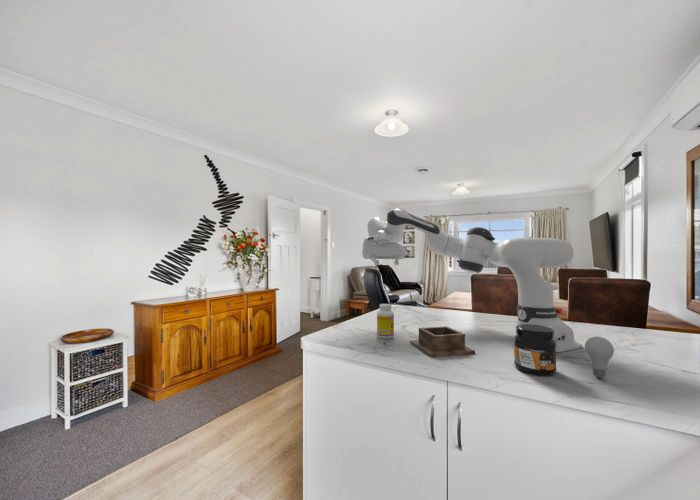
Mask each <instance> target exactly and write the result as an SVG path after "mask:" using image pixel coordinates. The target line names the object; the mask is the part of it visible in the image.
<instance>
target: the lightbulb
mask: <svg viewBox="0 0 700 500" xmlns="http://www.w3.org/2000/svg"><path fill="white" fill-rule="evenodd" d="M584 349H585V351H586V354H587V356H588V357H589V359H590V363H591V367H592V373H593V375H594V376H595V377H596V378H597V379H603V378H605V377H606V370H607V367H608V364H609V361H610V360H611V359H612V357H613V356H614V352H615V349H614V345H613V344H612V342H611V341H609V340H608V339H607V338H604V337H601V336H592V337H589V338H588V339H587V340H586V341H585V343H584Z"/></svg>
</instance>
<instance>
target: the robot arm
mask: <svg viewBox="0 0 700 500" xmlns="http://www.w3.org/2000/svg"><path fill="white" fill-rule="evenodd" d="M406 226H409V227H411V228H414V229H416V230H418V231H420V232H422V233H423V234H424V235H425V239H426V245H427V248H428V251H430V252H431V253H433V254H434V255H437V256H438V255H439V256H443V257H446V258H454V259H456V262H457V263H458V265H459V266H458V267H460V269H461V270H463V271H464V272H466V273H467V274H479V273H481V272H482V271H483V269H484V267H485V266H484V265H485V262H486V259H487V261H488V262H489V263H491V264H492V265H494V266H496V267H502V268H503V267H505V268H508V269H509V270H510V272H511V273H512V274H513V277H514V278H515V282H516V285H517V296H518V297H517V299H518V301H517V302H518V303H517V305H516V314H517V321H516V326H517V325H521V324H531V325H540V326H545V327H549V328H551V329H553V330H554V338H553V339H554V340H555V341H556V343H557V346H556V353H562V352H567V351H571V350H575V349H580V348H581V349H582V348H583V344H582V343H581V342H579V341H577V340H575V336H574V335H575V334H574V331H573V329H572V328H571V327H570V326H569V325H567V323H565V322H564V321H562V319H560V318H559V315H562V314H563V313H564V308H561V307H555V306H554V286H553V284H552V283H551V282H550V281H549V280H547V279H545V278H543V277H542V275H541V272H540V269H555V268H560V267H566V266H568V265H569V264H570V263H571V262H572V261H573V258H574V253H575V252H574V248H573V245H572V244H571V243H570V242H569V241H567V240H565V239H560V238H555V237H517V238H515V237H514V238H511V239H506V240H503V241H500V242H494V241H495V240H496V238H495V236H494V237H493V234H492V232H491V231H490V230H488V229H487V228H485V227H483V226H472V227H470V228H468V230H467V232H466V236H465V239H462V238H461V237H459V236H458V237H457V236H455V235H452V234H449V233H445V232H443V231H442V230H440V227H439V226H438V225H436V224H434V223H433V222H430V221H428V220H427V219H423V218H421V217H419V216H416V215H414V214H411V213H409V212H408V211H406V210H404V209H402V208H400V207H399V208H397V207H396V208H393V209H391V210H389V211H388V212H387V215H386V222H385V221H384V220H382V219H381V218H380V217H378V216H377V217H373V218H371V219H370V220H369V221H368V223H367V234H368V237H364V240H363V243H362V251H361V254H362V255H361V256H362V258H363V259H364V260H371V262H373V263H374V265H375V266H379V265H380V262H379V261H380V260H394V262H393V264H394V266H399V265H400V262H399V260H403V259H404V258H405V256H406V251H405V249H404V247H403V245H402V244H399V242H401V241H402V239H403V236H404V233H405V231H406V230H405V229H406ZM459 259H460V260H459ZM558 314H559V315H558ZM516 334H517V333H516V332H515V334H514V336H515V335H516ZM512 341H513V343H514V339H513V340H512Z"/></svg>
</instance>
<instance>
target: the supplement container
mask: <svg viewBox="0 0 700 500" xmlns="http://www.w3.org/2000/svg"><path fill="white" fill-rule="evenodd" d="M515 333H517V334H516V335H515V334H514V337H513V340H514V342H513V343H514V344H513V345H514V346H513V347H514V348H513V349H514V350H513V351H514V354H513V355H514V357H513V359H514V360H513V364H514V366H515V368H517V369H518V370H520V371H521V372H523V373H526V374H530V375H535V376H545V377H546V376H552V375H554V374H556V373H557V352H556V346H557V343H556V341H555V340H554V339H553V338H554V330H553V329H551V328H549V327H545V326H540V325H531V324H521V325H517V324H516V326H515Z"/></svg>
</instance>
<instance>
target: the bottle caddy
mask: <svg viewBox="0 0 700 500" xmlns="http://www.w3.org/2000/svg"><path fill="white" fill-rule="evenodd" d="M409 343H410V345H412V346H414V347H415V348H416V349H418V350H419V351H421V352H422V353H424V354H426V355H427V356H429V357H430V358H431V359H432V358H442V357H452V356H453V357H454V356H467V355H476V350H475V349H473V348H471V347H468V346H466V334H465V333H464V332H461V331H458V330H456V329H454V328H451V327H449V326H446V325H445V326H434V327H433V326H431V327H430V326H428V327H418V339H414V340H409Z"/></svg>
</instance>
